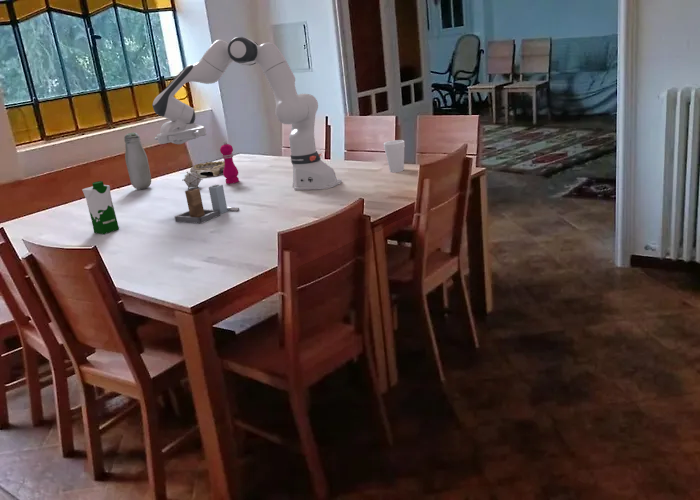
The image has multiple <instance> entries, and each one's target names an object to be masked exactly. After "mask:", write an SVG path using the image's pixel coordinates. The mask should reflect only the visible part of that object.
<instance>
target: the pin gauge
mask: <svg viewBox="0 0 700 500" xmlns="http://www.w3.org/2000/svg"><path fill="white" fill-rule="evenodd" d="M227 210H228V211H227V212H239V211H240V207H232V206H230V207H229V206H227Z"/></svg>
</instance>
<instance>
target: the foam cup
mask: <svg viewBox="0 0 700 500" xmlns="http://www.w3.org/2000/svg"><path fill="white" fill-rule="evenodd" d="M405 144H406V143H405V140H403V139H393V140H388V141H385V142H383V150H384V152H385V157H386V161H387V165H388V168H389V172H390V173H401V172H403V170H404V169H405V147H406V146H405Z"/></svg>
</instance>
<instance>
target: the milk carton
mask: <svg viewBox="0 0 700 500" xmlns="http://www.w3.org/2000/svg"><path fill="white" fill-rule="evenodd" d="M91 183H92V186H90V187H85V188H82V189H81V190H82V192H83V195H84V198H85V200H86V205H87V208H88V212H89V216H90V219H91V223H92V228H93V233H95V234H100V235H106V234H109V233H111V232H115V231H117V230H120V227H119V223H118V218H117V215H116V211H115V207H114V202H113V199H112V195H111V186H110V185H108V184H104V181H103V180H99V181H95V182H91Z"/></svg>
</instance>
